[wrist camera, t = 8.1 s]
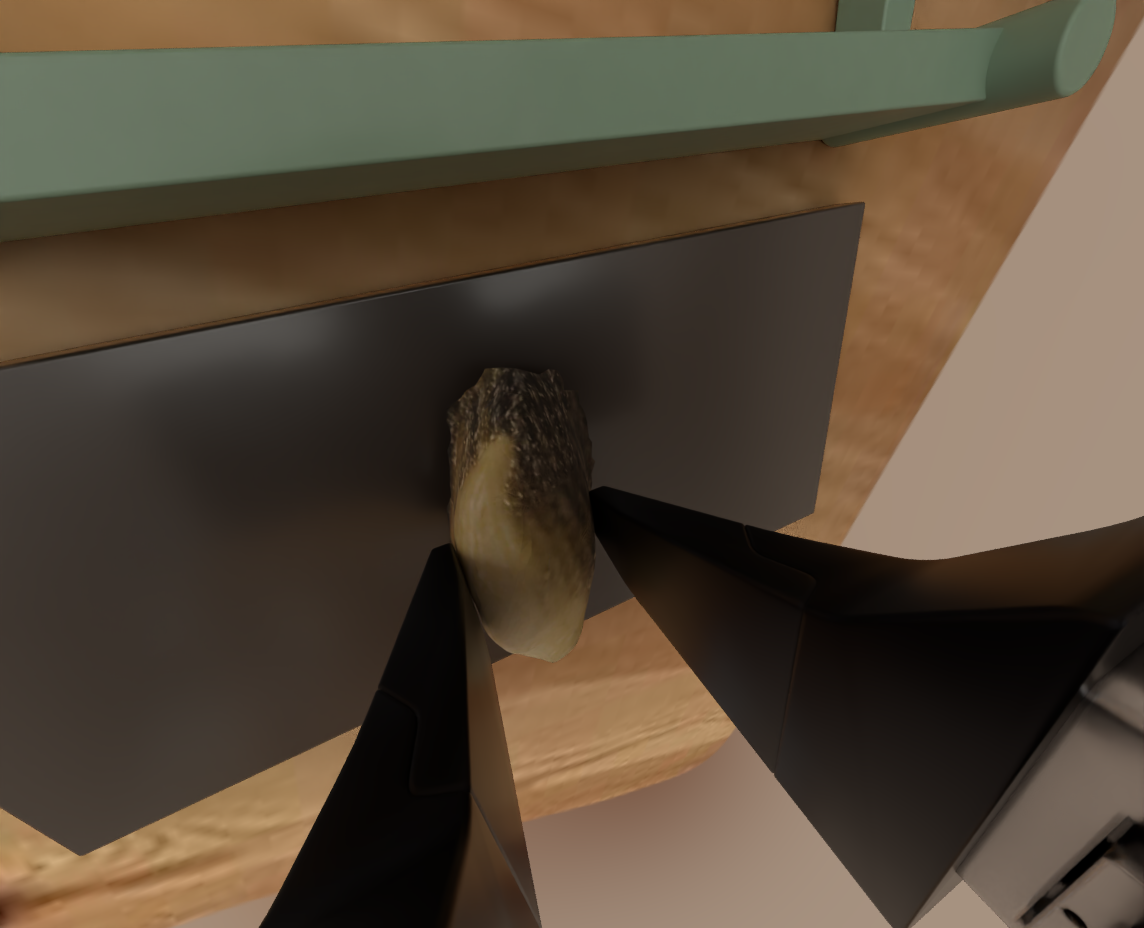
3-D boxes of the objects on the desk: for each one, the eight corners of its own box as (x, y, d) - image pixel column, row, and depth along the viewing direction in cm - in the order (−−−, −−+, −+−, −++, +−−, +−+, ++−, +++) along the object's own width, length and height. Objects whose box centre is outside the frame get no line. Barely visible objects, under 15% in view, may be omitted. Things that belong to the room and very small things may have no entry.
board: (838, 203, 12) (867, 200, 11) (796, 503, 17) (814, 513, 16) (-447, 445, 5) (-559, 472, 5) (97, 819, 10) (79, 858, 10)
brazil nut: (546, 638, 12) (610, 710, 9) (355, 622, 9) (372, 714, 7) (625, 416, 12) (710, 428, 9) (457, 337, 9) (512, 323, 7)
